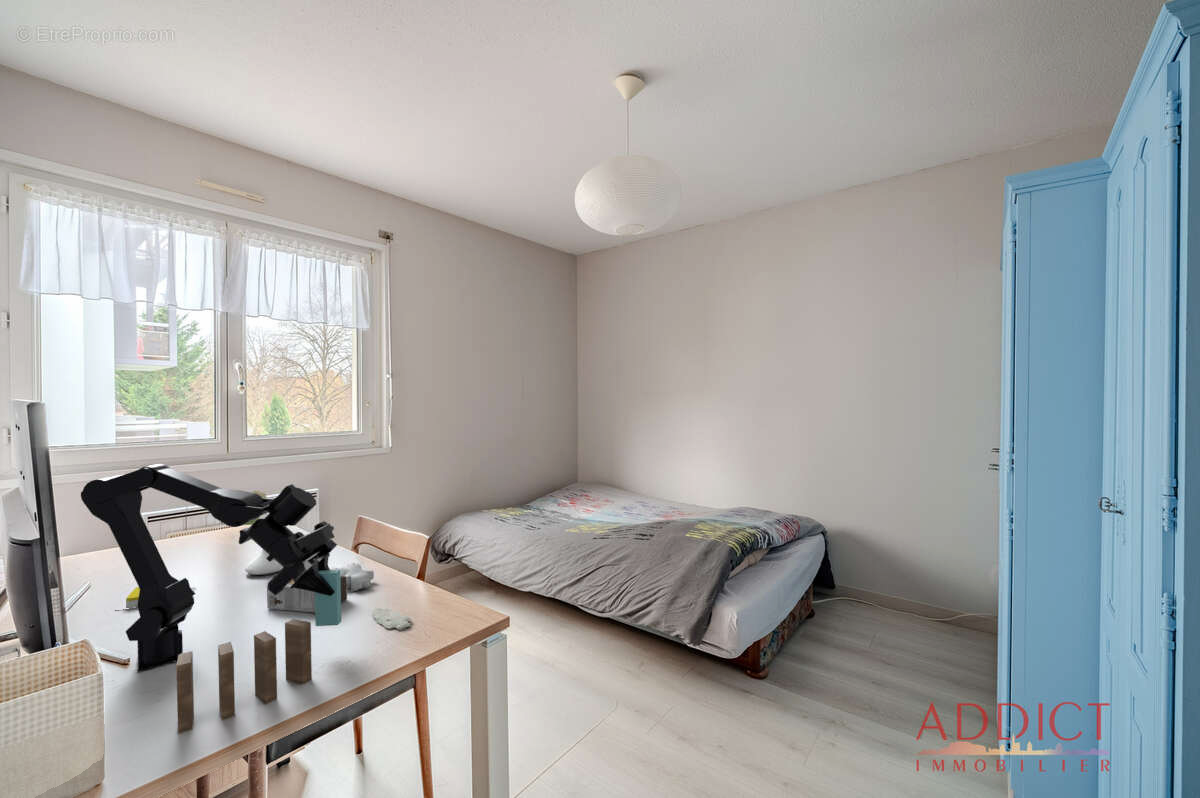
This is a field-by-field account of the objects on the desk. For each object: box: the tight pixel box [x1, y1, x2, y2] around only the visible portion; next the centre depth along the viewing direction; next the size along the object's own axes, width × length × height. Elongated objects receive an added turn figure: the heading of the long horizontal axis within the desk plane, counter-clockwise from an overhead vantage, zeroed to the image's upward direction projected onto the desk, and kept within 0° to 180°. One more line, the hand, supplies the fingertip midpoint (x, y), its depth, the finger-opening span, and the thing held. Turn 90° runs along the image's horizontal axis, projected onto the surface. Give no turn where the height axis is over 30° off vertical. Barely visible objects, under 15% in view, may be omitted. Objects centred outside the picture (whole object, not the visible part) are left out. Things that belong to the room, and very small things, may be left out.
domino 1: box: [175, 650, 195, 734], centre depth 84 cm, size 2×4×11 cm, turn 36°
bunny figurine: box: [329, 562, 375, 592], centre depth 144 cm, size 10×5×15 cm
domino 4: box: [284, 618, 313, 686], centre depth 96 cm, size 2×4×11 cm, turn 71°
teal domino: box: [314, 570, 342, 627], centre depth 107 cm, size 2×4×11 cm, turn 95°
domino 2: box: [217, 641, 236, 721], centre depth 87 cm, size 2×4×11 cm, turn 41°
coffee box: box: [266, 576, 348, 613], centre depth 130 cm, size 9×6×16 cm
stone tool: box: [372, 607, 412, 631], centre depth 121 cm, size 6×2×15 cm
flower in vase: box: [244, 490, 283, 576], centre depth 153 cm, size 13×11×25 cm
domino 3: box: [253, 630, 278, 705], centre depth 91 cm, size 2×4×11 cm, turn 55°
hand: (335, 592), depth 107 cm, fingers closed on teal domino, 2 cm apart
